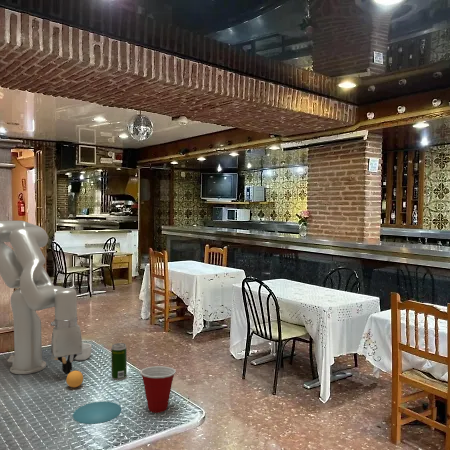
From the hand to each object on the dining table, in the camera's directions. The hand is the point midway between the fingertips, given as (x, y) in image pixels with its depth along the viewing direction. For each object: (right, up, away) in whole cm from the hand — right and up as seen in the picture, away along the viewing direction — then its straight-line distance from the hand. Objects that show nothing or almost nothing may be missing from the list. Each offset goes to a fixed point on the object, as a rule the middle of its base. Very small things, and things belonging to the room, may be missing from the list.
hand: (67, 372), depth 157 cm
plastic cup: (+37, -3, -24) cm, 44 cm away
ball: (+6, +1, -8) cm, 10 cm away
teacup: (-2, -1, +21) cm, 21 cm away
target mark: (+19, -3, -27) cm, 33 cm away
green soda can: (+19, -2, 0) cm, 19 cm away
